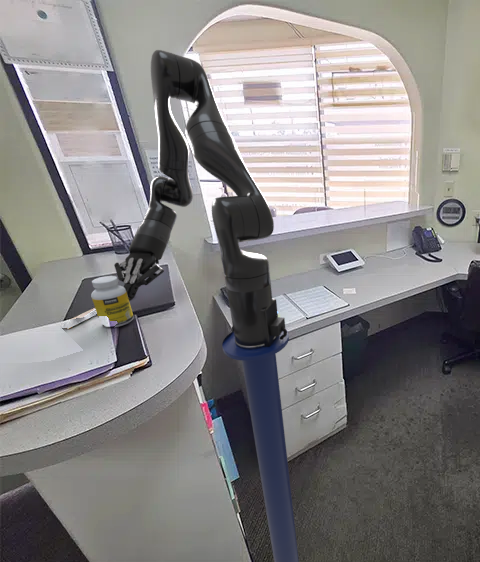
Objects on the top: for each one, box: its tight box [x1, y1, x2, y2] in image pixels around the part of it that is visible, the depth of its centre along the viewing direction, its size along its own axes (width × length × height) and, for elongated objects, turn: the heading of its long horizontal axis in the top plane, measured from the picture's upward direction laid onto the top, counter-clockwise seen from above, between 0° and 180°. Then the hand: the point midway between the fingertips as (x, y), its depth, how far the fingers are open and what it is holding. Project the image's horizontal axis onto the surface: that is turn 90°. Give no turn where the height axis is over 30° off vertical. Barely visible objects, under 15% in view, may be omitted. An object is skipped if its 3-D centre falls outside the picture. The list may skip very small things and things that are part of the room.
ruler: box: [69, 307, 95, 320], centre depth 82 cm, size 3×18×1 cm, turn 174°
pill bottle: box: [90, 275, 134, 328], centre depth 75 cm, size 6×6×12 cm
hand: (126, 298), depth 79 cm, fingers closed
